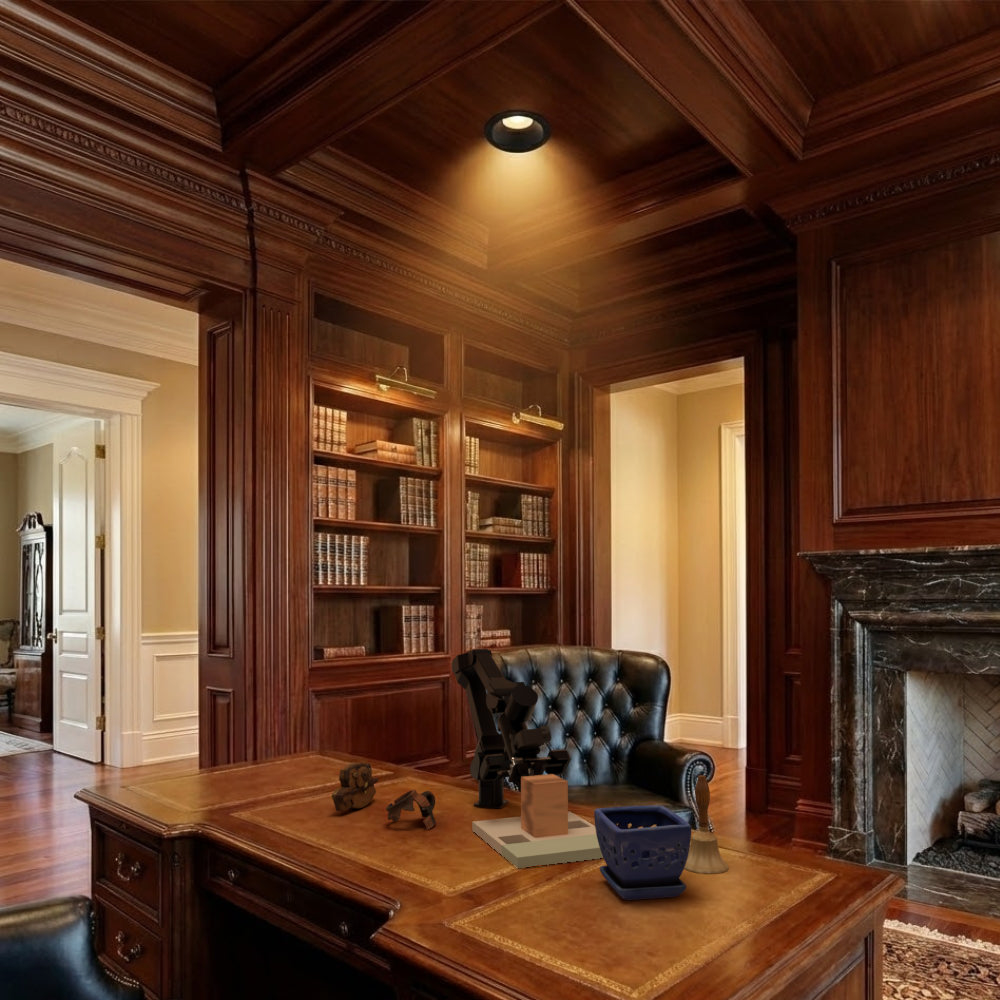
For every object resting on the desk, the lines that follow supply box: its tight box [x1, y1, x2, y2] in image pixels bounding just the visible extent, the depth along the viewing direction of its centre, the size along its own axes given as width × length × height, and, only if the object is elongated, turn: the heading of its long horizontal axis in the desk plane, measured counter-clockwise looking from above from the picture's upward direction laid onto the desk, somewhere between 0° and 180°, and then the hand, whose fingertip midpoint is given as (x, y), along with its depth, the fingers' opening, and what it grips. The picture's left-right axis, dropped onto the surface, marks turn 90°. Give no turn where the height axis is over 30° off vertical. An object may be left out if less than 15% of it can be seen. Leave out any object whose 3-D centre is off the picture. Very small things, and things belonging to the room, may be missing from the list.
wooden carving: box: [331, 761, 379, 812], centre depth 195 cm, size 16×5×10 cm, turn 162°
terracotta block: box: [520, 773, 569, 838], centre depth 170 cm, size 7×7×10 cm
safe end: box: [501, 834, 604, 869], centre depth 161 cm, size 8×22×2 cm, turn 111°
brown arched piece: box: [385, 789, 436, 830], centre depth 182 cm, size 12×10×8 cm
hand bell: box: [684, 774, 729, 875], centre depth 155 cm, size 8×8×16 cm
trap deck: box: [471, 811, 596, 856], centre depth 172 cm, size 17×22×2 cm
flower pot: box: [593, 804, 692, 901], centre depth 144 cm, size 13×13×12 cm
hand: (536, 800), depth 174 cm, fingers closed, pressing on terracotta block
